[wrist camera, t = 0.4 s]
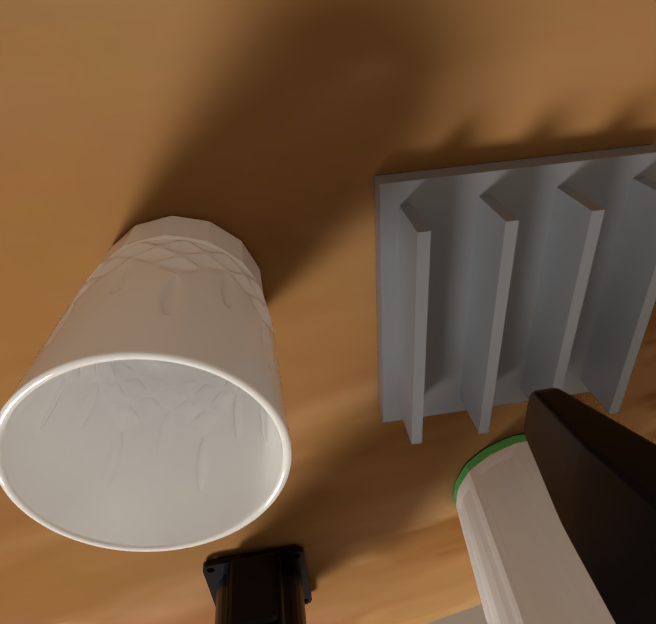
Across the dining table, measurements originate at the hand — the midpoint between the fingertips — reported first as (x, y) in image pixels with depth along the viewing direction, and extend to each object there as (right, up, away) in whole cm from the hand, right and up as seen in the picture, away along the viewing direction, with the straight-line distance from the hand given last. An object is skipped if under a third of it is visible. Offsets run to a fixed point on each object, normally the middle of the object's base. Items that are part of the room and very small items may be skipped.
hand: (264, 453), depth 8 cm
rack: (+9, +3, +17) cm, 19 cm away
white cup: (-5, +4, +14) cm, 16 cm away
